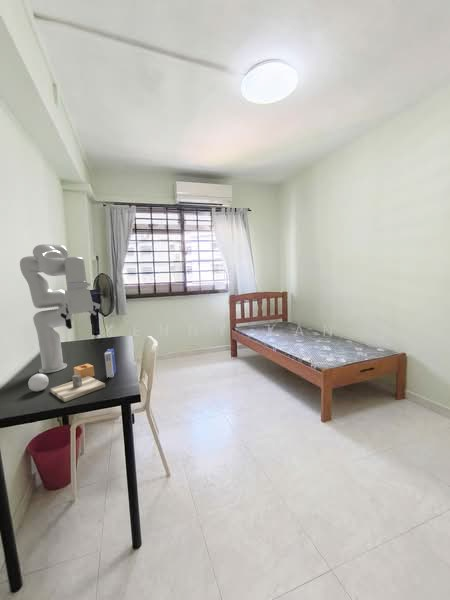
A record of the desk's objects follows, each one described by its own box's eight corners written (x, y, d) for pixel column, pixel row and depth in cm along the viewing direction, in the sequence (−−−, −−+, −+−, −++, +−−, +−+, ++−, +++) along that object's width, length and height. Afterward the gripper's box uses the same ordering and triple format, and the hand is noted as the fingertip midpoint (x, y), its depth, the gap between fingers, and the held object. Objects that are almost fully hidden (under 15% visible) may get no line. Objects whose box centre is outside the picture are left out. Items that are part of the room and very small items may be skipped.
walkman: (110, 372, 133) (107, 348, 132) (116, 371, 134) (113, 347, 133) (106, 378, 126) (103, 353, 124) (112, 377, 126) (110, 352, 125)
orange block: (74, 377, 128) (73, 367, 128) (88, 373, 133) (87, 363, 133) (80, 380, 124) (79, 369, 124) (94, 375, 129) (93, 365, 129)
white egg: (32, 388, 118) (29, 372, 117) (51, 385, 120) (49, 369, 120) (24, 398, 109) (21, 381, 108) (45, 394, 111) (43, 377, 110)
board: (50, 391, 114) (48, 378, 113) (89, 378, 126) (87, 366, 125) (64, 402, 103) (62, 387, 103) (105, 386, 115) (103, 373, 115)
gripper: (94, 285, 122) (98, 321, 124) (50, 288, 109) (56, 329, 111) (101, 284, 117) (105, 323, 119) (57, 288, 104) (62, 331, 106)
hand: (81, 326), depth 115 cm, fingers open, 9 cm apart
